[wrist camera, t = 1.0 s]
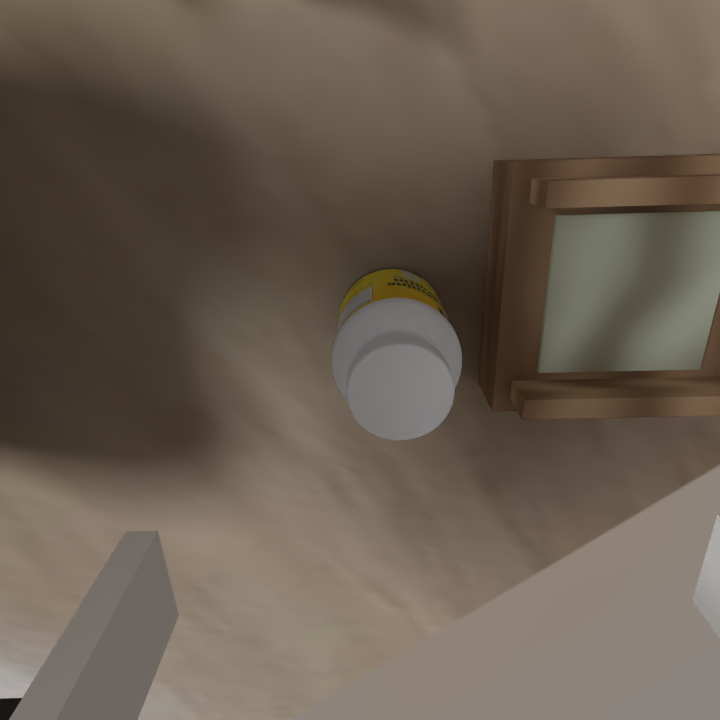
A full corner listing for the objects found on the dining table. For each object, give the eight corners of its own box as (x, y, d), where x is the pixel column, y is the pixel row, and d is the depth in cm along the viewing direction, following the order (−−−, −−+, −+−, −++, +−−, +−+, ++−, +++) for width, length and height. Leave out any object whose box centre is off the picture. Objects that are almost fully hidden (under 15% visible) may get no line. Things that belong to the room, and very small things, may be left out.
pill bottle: (456, 334, 32) (500, 424, 22) (368, 376, 34) (369, 480, 23) (413, 245, 30) (439, 295, 20) (320, 293, 32) (297, 365, 21)
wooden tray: (478, 382, 34) (502, 432, 28) (494, 160, 28) (528, 162, 22) (687, 378, 33) (757, 427, 27) (743, 153, 28) (845, 153, 22)
